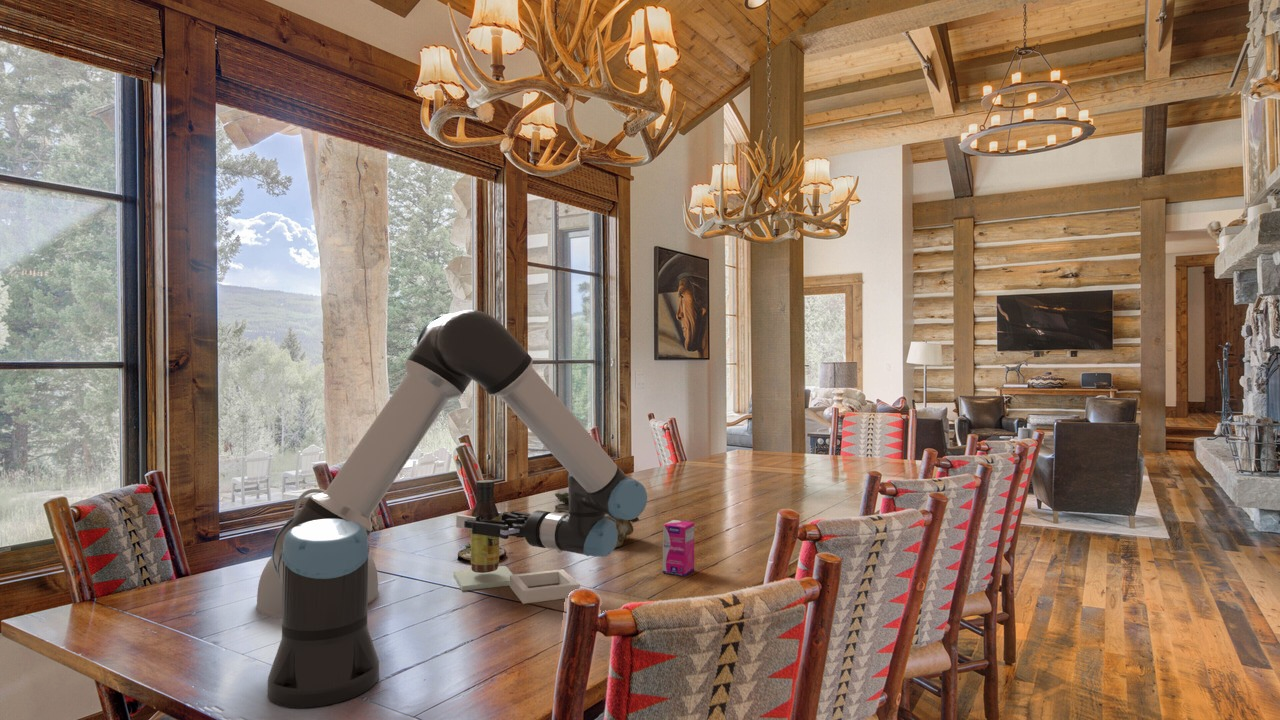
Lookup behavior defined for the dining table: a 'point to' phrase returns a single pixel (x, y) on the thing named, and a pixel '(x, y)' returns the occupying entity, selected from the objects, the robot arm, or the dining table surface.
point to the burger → (467, 553)
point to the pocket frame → (545, 593)
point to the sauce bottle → (483, 545)
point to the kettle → (272, 586)
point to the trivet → (482, 578)
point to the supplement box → (678, 547)
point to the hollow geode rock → (621, 525)
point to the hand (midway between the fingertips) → (468, 518)
